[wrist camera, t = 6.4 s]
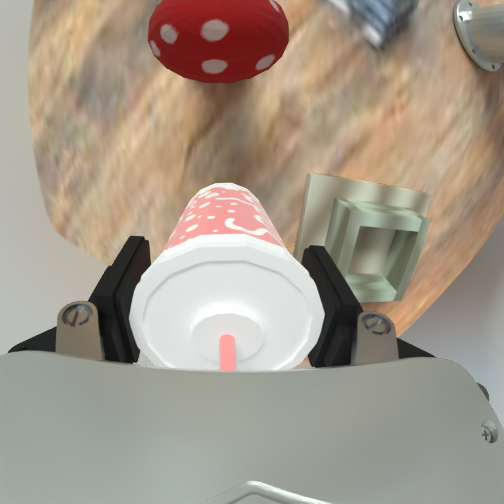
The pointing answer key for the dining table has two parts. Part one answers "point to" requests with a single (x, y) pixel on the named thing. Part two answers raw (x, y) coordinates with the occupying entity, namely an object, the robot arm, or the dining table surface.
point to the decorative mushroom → (218, 38)
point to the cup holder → (365, 232)
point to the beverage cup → (226, 291)
